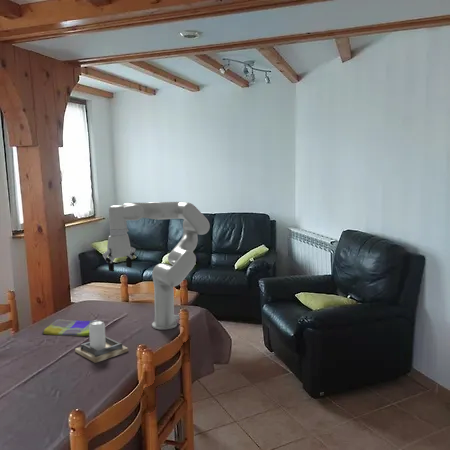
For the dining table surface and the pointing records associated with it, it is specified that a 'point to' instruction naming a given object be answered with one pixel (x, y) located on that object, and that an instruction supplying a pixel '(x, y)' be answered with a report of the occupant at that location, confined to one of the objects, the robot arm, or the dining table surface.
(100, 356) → the square tray
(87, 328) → the dish towel
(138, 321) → the dining table surface
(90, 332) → the can
